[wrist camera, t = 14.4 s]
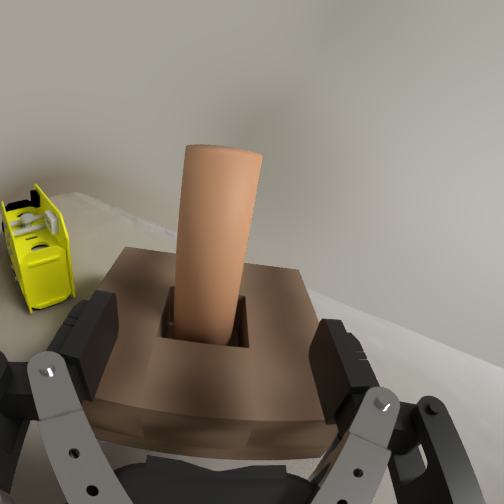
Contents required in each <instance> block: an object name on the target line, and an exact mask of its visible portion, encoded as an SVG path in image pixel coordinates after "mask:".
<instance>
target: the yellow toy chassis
mask: <svg viewBox="0 0 504 504" xmlns="http://www.w3.org/2000/svg"><path fill="white" fill-rule="evenodd" d="M30 193H31V201H29V200H22V201H17V202H13V203H9V204H8V205H7V206H6V207H4V203H3V201H2V202H1V210H2V219H3V221H2V229H3V232H4V234H5V240H6V245H7V249H8V252H9V255H10V258H11V262H12V265H11V270H14V271H15V274H16V276H15V277H14V278H15V282H17V281H18V282H19V285H20V287H21V290H22V293H23V295H24V298H25V300H26V303H27V305H28V308H29V310H30V312H31V313H32V308H31V307H33V308H38V309H42V308H45V307H48V306H51V305H54V304H57V303H59V302H62V301H64V300H65V299H66V298H67V297H68V296H69V295H70V294H72V295H73V297H74V298H75V297H76V294H75V288H74V281H73V272H72V265H71V256H70V246H69V237H68V234H67V230H66V227H65V224H64V220H63V217H62V214H61V213H60V211H59V210H58V209H57V208H56V207H55V206H54V204H53V203H52V202H51V201H50V200H49V199H48V197H47V196H46V195H45V194H44V193H43V192H42V190H41V189H40V188H39V186H38V185H37V184H34V188H33V190H31V191H30ZM56 215H57V217H58V218H57V217H56ZM58 221H59V224H58Z"/></svg>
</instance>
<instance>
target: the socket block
mask: <svg viewBox="0 0 504 504" xmlns="http://www.w3.org/2000/svg"><path fill="white" fill-rule="evenodd" d="M175 269H176V254H174V253H167V252H160V251H153V250H146V249H138V248H131V247H125V248H124V249H123V251H122V252H121V254H120V255H119V257H118V258H117V260H116V261H115V263H114V264H113V266H112V267H111V269H110V270H109V272H108V273H107V275H106V276H105V278H104V279H103V281H102V282H101V284H100V286H99V287H98V290H103V291H109V292H114V293H116V297H117V308H118V319H119V332H118V337H117V340H116V342H115V345H114V347H113V350H112V352H111V355H110V357H109V360H108V362H107V365H106V368H105V370H104V373H103V376H102V378H101V381H100V384H99V387H98V389H97V392H96V395H95V398H94V401H93V402H89V401H86V400H83V403H82V405H81V406H82V409H83V411H84V413H85V416H86V418H87V420H88V422H89V425H90V427H91V429H92V431H93V433H94V435H95V437H96V438H97V439H101V440H105V441H109V442H113V443H117V444H122V445H126V446H131V447H136V448H141V449H146V450H152V451H157V452H164V453H170V454H178V455H186V456H195V457H205V458H218V459H236V460H287V459H305V458H318V457H321V456H322V455H323V454H324V453H325V452H326V450H327V449H328V448H329V446H330V444H331V442H332V441H333V439H334V437H335V435H336V434H337V432H338V428H337V424H332V425H326V423H325V419H324V416H323V412H322V408H321V404H320V400H319V397H318V393H317V389H316V385H315V382H314V378H313V374H312V371H311V367H310V363H309V358H308V354H309V348H310V345H311V342H312V340H313V337H314V335H315V332H316V330H317V327H318V325H319V322H318V319H317V316H316V314H315V311H314V308H313V306H312V303H311V301H310V298H309V295H308V293H307V290H306V288H305V285H304V282H303V280H302V277H301V275H300V272H299V270H296V269H288V268H280V267H272V266H264V265H257V264H249V263H244V266H243V272H242V277H241V283H240V289H239V295H238V301H237V307H236V312H235V318H234V324H233V330H232V336H231V342H230V346H222V345H213V344H205V343H197V342H189V341H182V340H174V292H175Z"/></svg>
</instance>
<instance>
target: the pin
mask: <svg viewBox="0 0 504 504" xmlns="http://www.w3.org/2000/svg"><path fill="white" fill-rule="evenodd" d="M262 157H263V156H262V155H260V154H258V153H255V152H251V151H247V150H243V149H238V148H232V147H225V146H216V145H188V146H186V151H185V160H184V169H183V178H182V187H181V198H180V209H179V222H178V235H177V250H176V269H175V292H174V340H182V341H189V342H197V343H205V344H213V345H222V346H230V342H231V336H232V330H233V324H234V318H235V312H236V307H237V301H238V295H239V289H240V283H241V277H242V272H243V266H244V260H245V254H246V248H247V243H248V237H249V231H250V225H251V220H252V214H253V208H254V203H255V197H256V191H257V185H258V180H259V174H260V169H261V163H262Z"/></svg>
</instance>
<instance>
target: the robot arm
mask: <svg viewBox="0 0 504 504" xmlns="http://www.w3.org/2000/svg"><path fill="white" fill-rule="evenodd" d="M118 332H119V319H118V308H117V297H116V293H114V292H109V291H103V290H98V289H97V290H96V291H95V292H94V294H93V295H92V297H91V299H90V300H89V301H87V300H82V301H81V302H79V303H78V304H77V305H75V306H74V307H73V308H72V310H71V311H70V313H69V314H68V317H67V318H66V319H65V321H64V322H63V325H62V326H61V327H60V329H59V330H58V332H57V334H56V335H55V337H54V339H53V340H52V342H51V344H50V345H49V347H48V349H47V351H44V352H40V353H38V354H36V355H34V356H33V357H32V358H31V359H30V361H29V362H8V361H7V359H6V357H5V355H4V354H3V353H2V352H1V351H0V504H15V502H14V500H13V498H12V497H11V496H10V490H11V486H12V482H13V477H14V473H15V470H16V466H17V462H18V459H19V455H20V452H21V448H22V445H23V442H24V439H25V436H26V433H27V430H28V427H29V424H30V421H31V420H37V424H38V428H39V432H40V435H41V438H42V441H43V444H44V447H45V449H46V452H47V455H48V458H49V460H50V463H51V465H52V468H53V470H54V473H55V475H56V477H57V480H58V482H59V484H60V487H61V489H62V491H63V493H64V495H65V497H66V499H67V501H68V502H67V503H66V504H371V503H372V501H373V498H374V496H375V494H376V492H377V489H378V487H379V484H380V482H381V480H382V477H383V475H384V472H385V469H386V467H387V465H388V468H389V472H390V476H391V479H392V483H393V487H394V491H395V495H396V499H397V503H398V504H485V501H484V498H483V495H482V492H481V489H480V487H479V484H478V481H477V478H476V476H475V473H474V471H473V468H472V466H471V463H470V461H469V458H468V456H467V453H466V451H465V448H464V446H463V444H462V441H461V439H460V437H459V435H458V432H457V430H456V428H455V426H454V424H453V421H452V419H451V417H450V415H449V413H448V411H447V409H446V407H445V405H444V404H443V403H442V402H441V401H440V400H439V399H438V398H436V397H433V396H424V397H422V398H421V399H420V400H419V402H418V403H417V404H411V403H405V402H400V401H399V399H398V398H397V396H396V395H395V394H394V393H393V392H392V391H390V390H389V389H386V388H384V387H380V386H379V383H378V381H377V379H376V377H375V374H374V372H373V370H372V368H371V366H370V363H369V361H368V360H367V357H366V355H365V353H364V352H363V348H362V346H361V344H360V342H359V341H358V340H357V339H356V338H355V336H354V335H353V334H352V333H347V332H346V330H345V327H344V325H343V323H342V321H341V320H335V319H321V321H320V322H319V325H318V327H317V330H316V332H315V335H314V337H313V340H312V342H311V345H310V348H309V354H308V358H309V363H310V367H311V371H312V374H313V378H314V382H315V385H316V389H317V393H318V397H319V400H320V404H321V408H322V412H323V416H324V419H325V423H326V425H332V424H337V428H338V432H337V434H336V435H335V437H334V439H333V441H332V442H331V444H330V446H329V448H328V449H327V451H326V453H325V455H324V456H323V458H322V460H321V461H320V463H319V465H318V466H317V468H316V469H315V470H314V472H313V473H312V474H311V476H310V477H309V478H308V479H307V480H306V479H304V478H301V477H299V476H296V475H293V474H289V473H287V472H286V465H270V466H254V465H253V466H248V467H243V468H237V469H232V470H226V471H212V470H209V469H206V468H203V467H199V466H196V465H193V464H190V463H187V462H184V461H182V460H175V459H168V458H162V457H156V456H150V455H147V458H146V463H136V464H131V465H127V466H123V467H121V468H118V469H116V470H114V471H113V470H112V468H111V466H110V464H109V463H108V461H107V459H106V457H105V455H104V453H103V451H102V449H101V447H100V445H99V443H98V441H97V439H96V437H95V435H94V433H93V431H92V429H91V427H90V425H89V422H88V420H87V418H86V416H85V413H84V411H83V409H82V406H81V405H82V403H83V400H86V401H89V402H93V401H94V398H95V395H96V392H97V389H98V387H99V384H100V381H101V378H102V376H103V373H104V370H105V368H106V365H107V362H108V360H109V357H110V355H111V352H112V350H113V347H114V345H115V342H116V340H117V337H118ZM420 444H422V447H423V450H424V453H425V455H426V458H427V462H428V465H427V469H426V468H425V465H424V462H423V459H422V456H421V453H420V450H419V448H418V446H419V445H420Z"/></svg>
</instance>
